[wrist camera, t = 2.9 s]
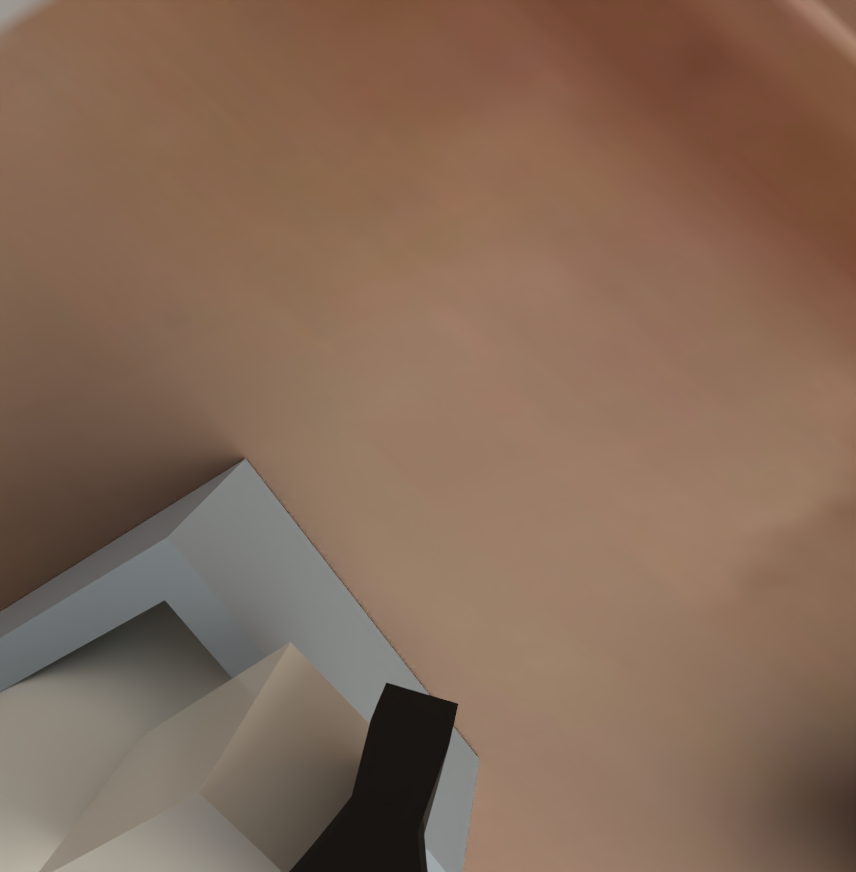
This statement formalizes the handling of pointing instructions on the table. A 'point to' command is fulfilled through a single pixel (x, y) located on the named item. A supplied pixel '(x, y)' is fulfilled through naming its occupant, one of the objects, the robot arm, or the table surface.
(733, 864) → the table surface
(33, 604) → the holder
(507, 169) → the table surface
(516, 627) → the table surface
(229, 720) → the cream egg with arms
